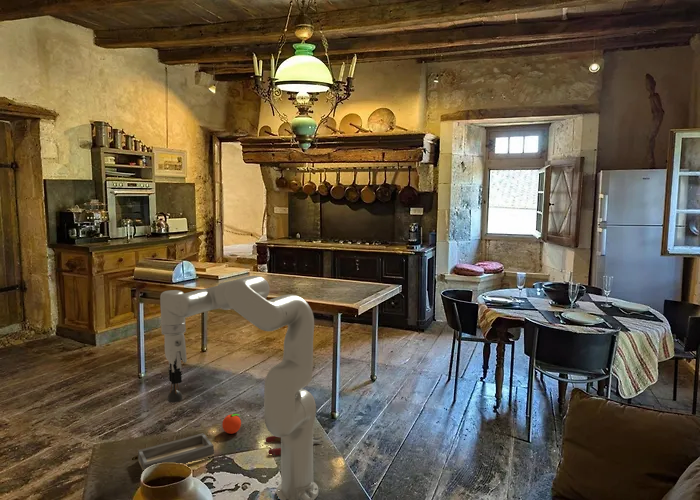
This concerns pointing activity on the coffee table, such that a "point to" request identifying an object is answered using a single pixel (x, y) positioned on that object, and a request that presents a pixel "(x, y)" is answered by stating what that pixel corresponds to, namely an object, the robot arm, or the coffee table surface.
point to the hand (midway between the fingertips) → (175, 381)
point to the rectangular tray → (177, 451)
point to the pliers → (273, 438)
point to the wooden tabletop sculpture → (174, 394)
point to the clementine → (231, 423)
